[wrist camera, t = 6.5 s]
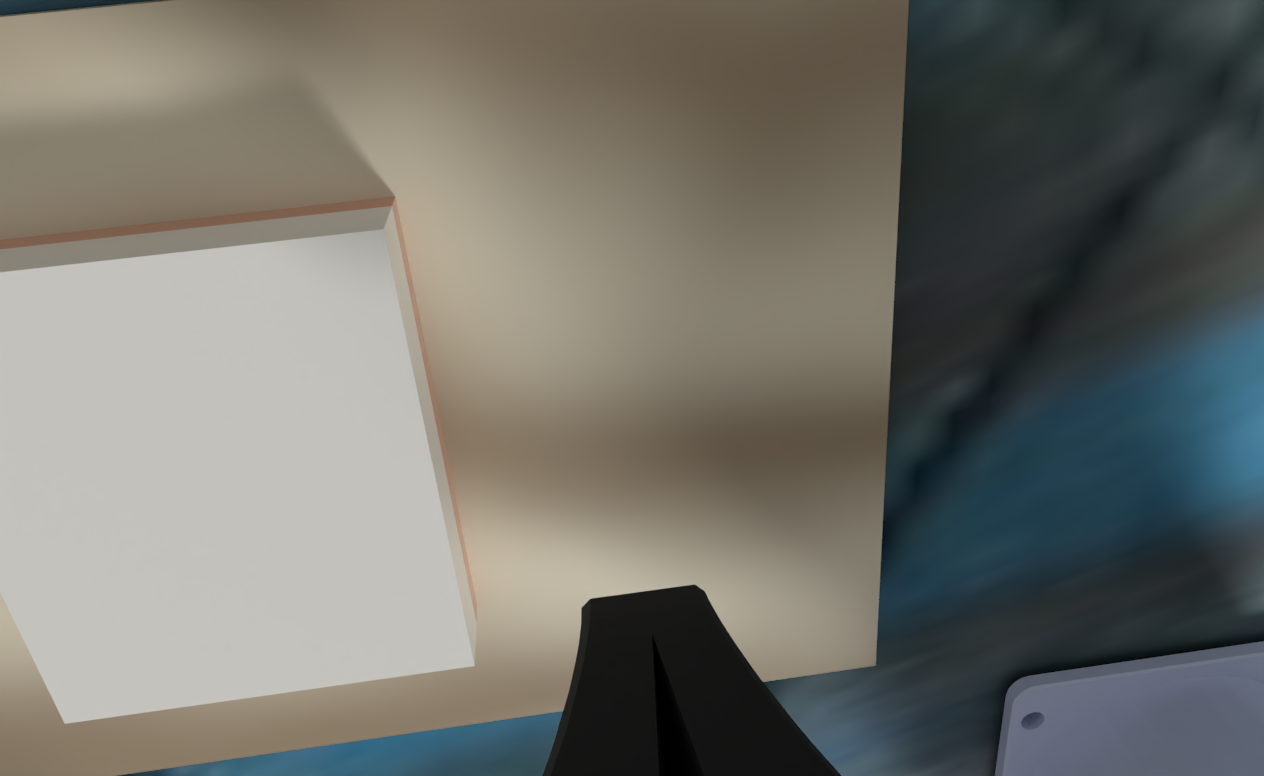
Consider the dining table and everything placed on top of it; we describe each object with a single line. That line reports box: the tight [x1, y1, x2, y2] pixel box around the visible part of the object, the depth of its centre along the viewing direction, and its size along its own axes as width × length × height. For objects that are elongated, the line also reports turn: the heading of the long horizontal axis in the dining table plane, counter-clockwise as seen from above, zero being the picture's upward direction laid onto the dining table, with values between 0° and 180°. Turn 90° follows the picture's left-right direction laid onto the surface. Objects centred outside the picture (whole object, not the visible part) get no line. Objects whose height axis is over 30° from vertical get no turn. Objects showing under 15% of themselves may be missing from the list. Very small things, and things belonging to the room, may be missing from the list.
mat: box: [0, 0, 909, 776], centre depth 17 cm, size 14×18×1 cm
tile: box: [0, 196, 477, 724], centre depth 16 cm, size 8×2×7 cm
